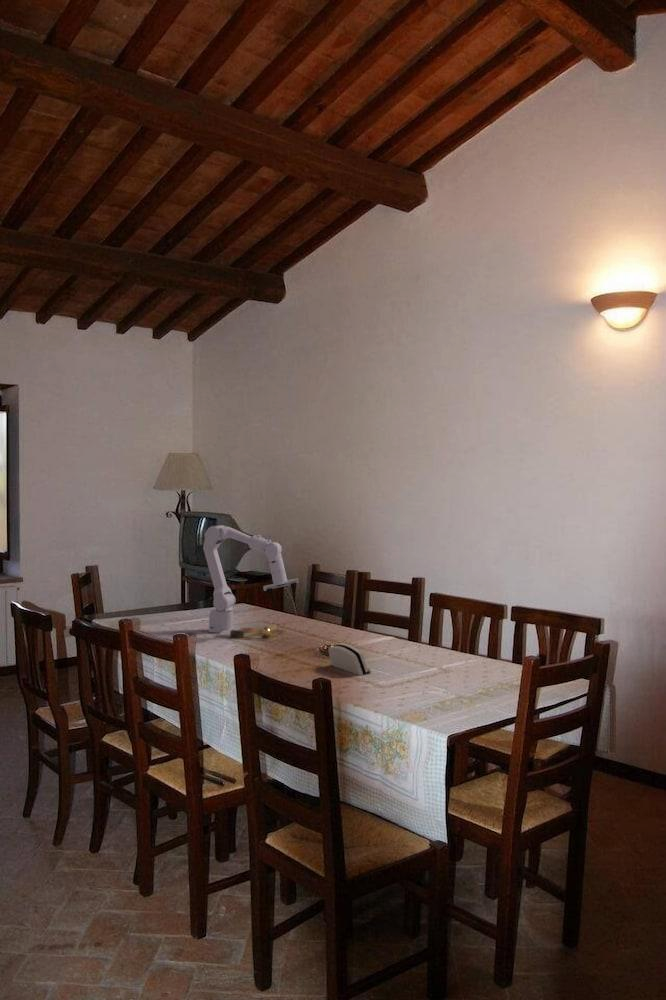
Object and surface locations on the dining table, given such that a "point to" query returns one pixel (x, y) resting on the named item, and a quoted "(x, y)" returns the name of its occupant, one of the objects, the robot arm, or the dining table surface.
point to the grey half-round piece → (348, 658)
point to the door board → (253, 634)
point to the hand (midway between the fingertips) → (285, 604)
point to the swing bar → (268, 630)
